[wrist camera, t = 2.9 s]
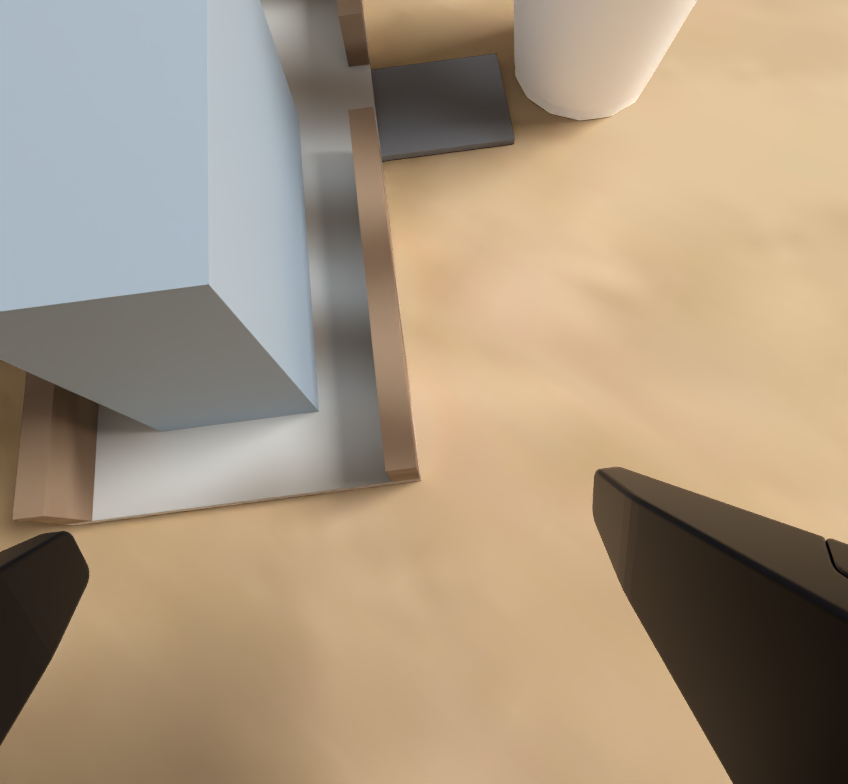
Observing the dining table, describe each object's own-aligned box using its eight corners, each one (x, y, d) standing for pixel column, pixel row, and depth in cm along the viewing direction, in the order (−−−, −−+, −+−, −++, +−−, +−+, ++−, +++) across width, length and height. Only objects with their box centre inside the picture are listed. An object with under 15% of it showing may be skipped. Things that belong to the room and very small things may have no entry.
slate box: (318, 411, 21) (208, 284, 11) (162, 431, 21) (-85, 322, 11) (298, 116, 25) (205, -163, 15) (167, 133, 25) (-8, -134, 15)
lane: (580, 459, 20) (617, 432, 16) (-84, 546, 20) (-231, 542, 16) (476, -31, 28) (482, -142, 23) (-8, 32, 28) (-93, -67, 23)
